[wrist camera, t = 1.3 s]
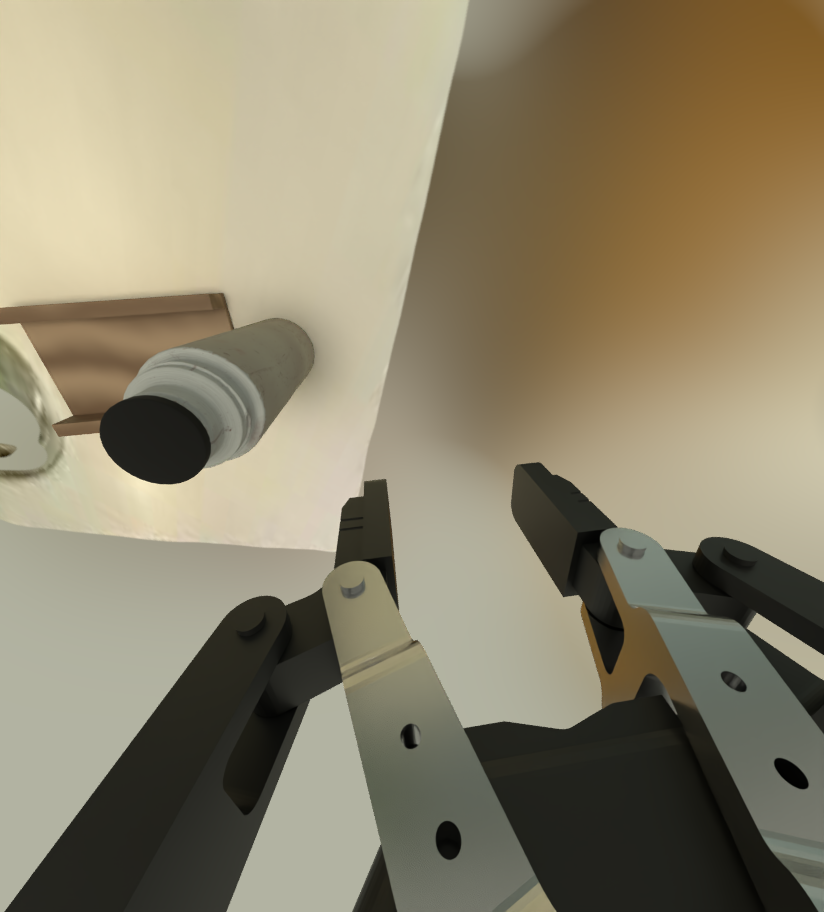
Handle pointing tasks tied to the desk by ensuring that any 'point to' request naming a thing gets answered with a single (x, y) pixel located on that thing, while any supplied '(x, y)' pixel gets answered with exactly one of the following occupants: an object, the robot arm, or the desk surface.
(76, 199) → the desk surface
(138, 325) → the walnut trough
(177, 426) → the thermos bottle
